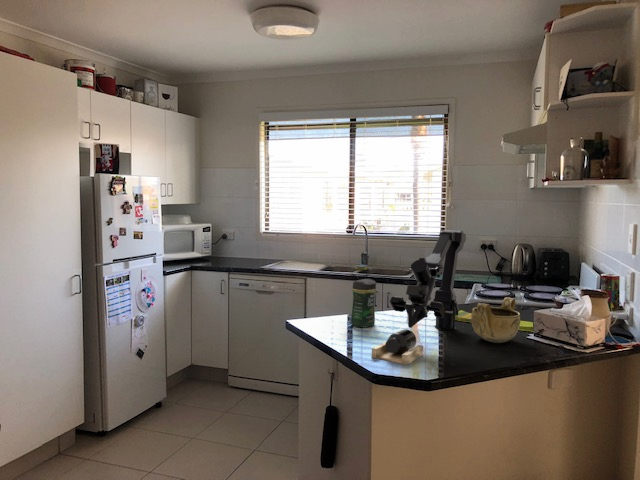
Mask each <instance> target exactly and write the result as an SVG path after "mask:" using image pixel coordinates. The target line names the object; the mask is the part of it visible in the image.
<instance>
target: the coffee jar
mask: <svg viewBox="0 0 640 480" xmlns="http://www.w3.org/2000/svg"><path fill="white" fill-rule="evenodd" d="M351 290H352V308H351V309H352V310H351V317H350V319H351V320H350V324H351V325H352V326H353V327H356V328H369V327H371V326H374V325H375V324H376V320H375V319H376V317H375V316H376V314H375V309H376V308H375V297H376V291H377V281H375V280H374V279H370V278H364V279H363V278H362V279H358V280H357V279H356V280H354V281H353V282H352V289H351Z"/></svg>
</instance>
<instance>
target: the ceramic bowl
mask: <svg viewBox="0 0 640 480" xmlns="http://www.w3.org/2000/svg"><path fill="white" fill-rule="evenodd" d="M515 306H516V299H515V298H513V297H508V296H507V297H504V299H502V303H501V306H497V307H496V306H490V304H489V303H483V302H482V303H481V302H478V303H477V305H476V307H473V308H472V311H471V313H472V315H471V321H472V323H471V326H472V328H473V331H474V333H475V334H477V335H478V337H480V338H481V339H482V340H485V341H487V342H489V343H494V344H503V343H506V342H509V341H510V340H513V338H515V337H516V336H517V334H518V332H519V331H518V330H519V327H520V321H521V314H520V312H519V311H517V310H515Z"/></svg>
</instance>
